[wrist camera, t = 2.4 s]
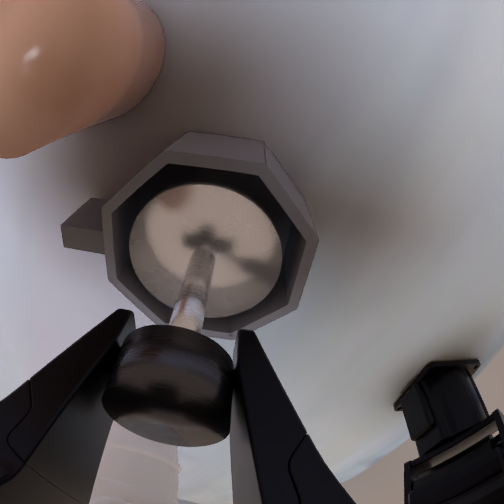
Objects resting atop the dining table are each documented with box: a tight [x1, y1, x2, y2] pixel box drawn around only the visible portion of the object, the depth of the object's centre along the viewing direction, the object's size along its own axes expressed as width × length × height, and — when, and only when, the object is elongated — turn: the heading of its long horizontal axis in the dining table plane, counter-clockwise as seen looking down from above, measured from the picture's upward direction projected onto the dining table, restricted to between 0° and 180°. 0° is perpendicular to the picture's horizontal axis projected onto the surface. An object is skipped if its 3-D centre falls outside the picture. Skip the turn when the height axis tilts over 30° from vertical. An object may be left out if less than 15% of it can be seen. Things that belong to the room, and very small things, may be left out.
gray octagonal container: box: [61, 132, 319, 340], centre depth 12 cm, size 10×8×4 cm
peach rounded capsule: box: [0, 0, 165, 159], centre depth 7 cm, size 6×6×6 cm
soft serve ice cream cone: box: [89, 421, 181, 504], centre depth 16 cm, size 8×8×16 cm
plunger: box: [102, 179, 282, 447], centre depth 9 cm, size 6×6×7 cm
